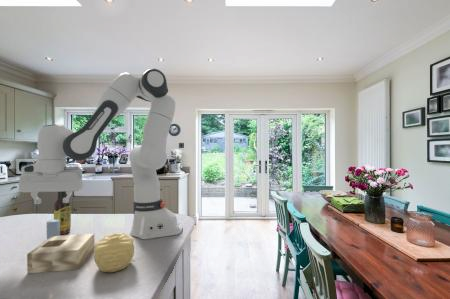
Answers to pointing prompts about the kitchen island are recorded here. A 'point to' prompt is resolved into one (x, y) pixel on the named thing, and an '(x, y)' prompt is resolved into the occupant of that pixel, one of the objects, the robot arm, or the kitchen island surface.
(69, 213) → the sauce bottle
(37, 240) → the kitchen island surface
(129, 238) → the pale yellow rounded lump
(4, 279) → the kitchen island surface
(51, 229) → the pin
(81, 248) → the bore block
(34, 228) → the kitchen island surface
